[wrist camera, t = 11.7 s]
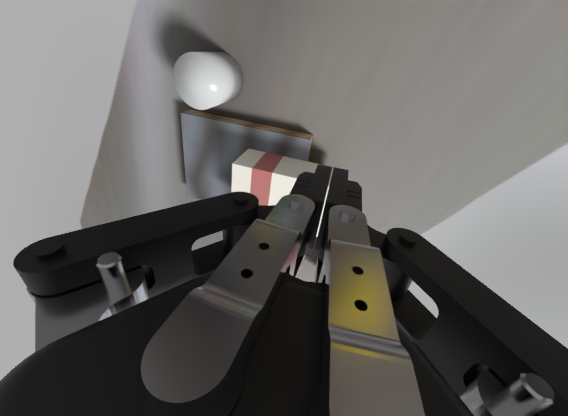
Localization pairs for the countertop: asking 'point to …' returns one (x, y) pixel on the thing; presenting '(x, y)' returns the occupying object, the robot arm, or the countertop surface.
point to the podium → (229, 149)
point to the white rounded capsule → (207, 78)
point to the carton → (269, 176)
